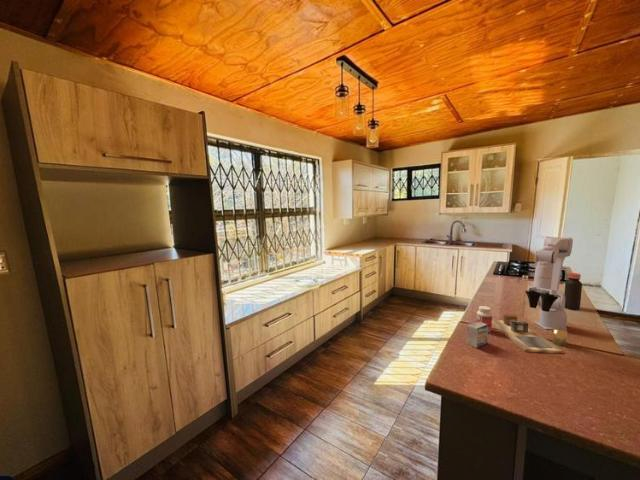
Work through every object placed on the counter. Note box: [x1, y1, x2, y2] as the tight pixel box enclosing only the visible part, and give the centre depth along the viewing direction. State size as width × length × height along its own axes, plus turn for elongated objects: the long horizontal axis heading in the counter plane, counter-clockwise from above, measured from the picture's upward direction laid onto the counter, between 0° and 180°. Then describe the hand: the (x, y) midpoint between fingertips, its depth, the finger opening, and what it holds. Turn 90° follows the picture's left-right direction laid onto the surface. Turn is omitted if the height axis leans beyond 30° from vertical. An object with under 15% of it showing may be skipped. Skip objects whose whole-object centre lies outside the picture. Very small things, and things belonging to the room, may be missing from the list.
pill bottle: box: [476, 305, 493, 333], centre depth 124 cm, size 6×6×11 cm
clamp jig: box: [492, 319, 564, 354], centre depth 118 cm, size 14×28×5 cm, turn 172°
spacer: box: [551, 328, 568, 347], centre depth 110 cm, size 4×4×6 cm
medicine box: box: [466, 321, 489, 349], centre depth 112 cm, size 8×4×9 cm, turn 117°
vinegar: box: [563, 272, 583, 311], centre depth 146 cm, size 7×7×20 cm
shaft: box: [503, 314, 523, 330], centre depth 123 cm, size 5×9×4 cm, turn 172°
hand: (538, 309), depth 110 cm, fingers open, 7 cm apart
